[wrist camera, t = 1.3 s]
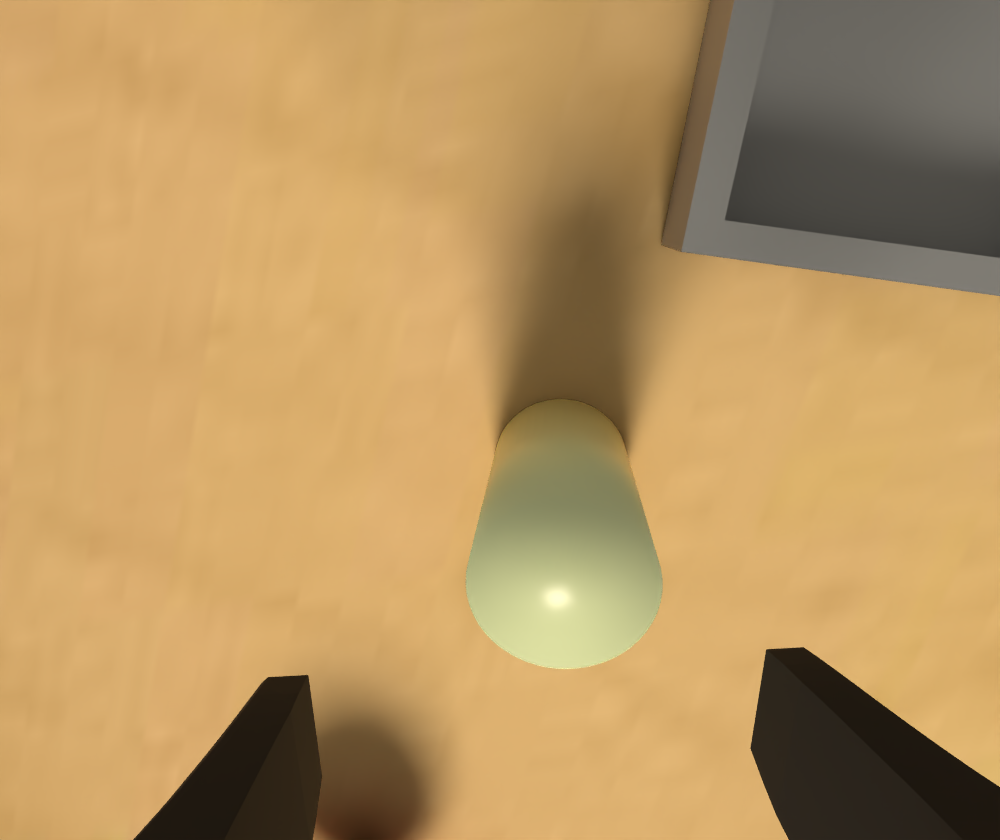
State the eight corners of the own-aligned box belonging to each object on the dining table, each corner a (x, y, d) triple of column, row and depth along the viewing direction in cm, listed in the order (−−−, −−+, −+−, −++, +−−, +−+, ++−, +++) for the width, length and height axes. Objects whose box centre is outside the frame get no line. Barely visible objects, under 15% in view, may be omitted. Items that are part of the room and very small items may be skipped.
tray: (1250, -190, 14) (1423, -289, 11) (1057, 299, 18) (1155, 317, 15) (759, -245, 15) (809, -354, 12) (661, 244, 18) (681, 251, 15)
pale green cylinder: (638, 409, 19) (681, 513, 13) (613, 530, 21) (641, 682, 14) (504, 389, 20) (477, 482, 13) (487, 510, 21) (455, 652, 14)
